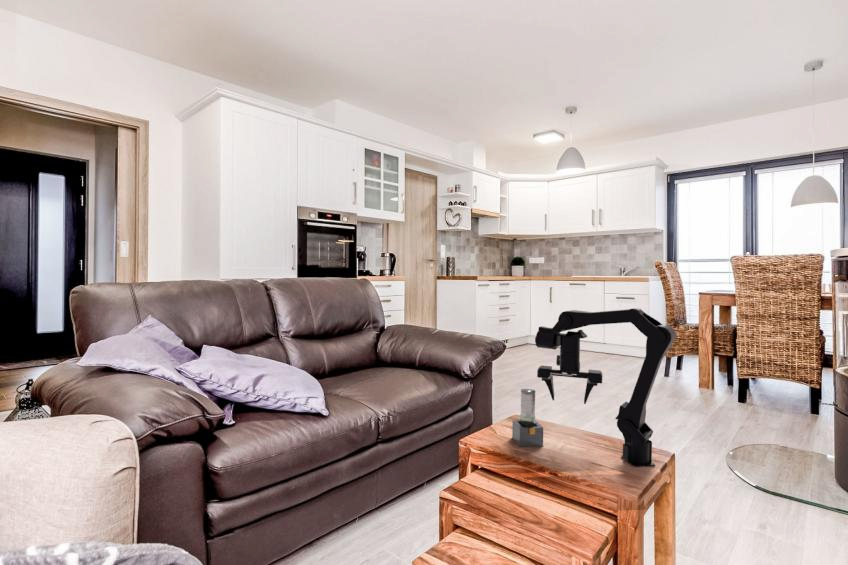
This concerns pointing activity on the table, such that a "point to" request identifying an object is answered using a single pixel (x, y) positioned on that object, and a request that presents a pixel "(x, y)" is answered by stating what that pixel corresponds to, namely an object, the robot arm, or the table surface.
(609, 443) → the table surface
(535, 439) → the stand collar
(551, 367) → the robot arm
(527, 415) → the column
